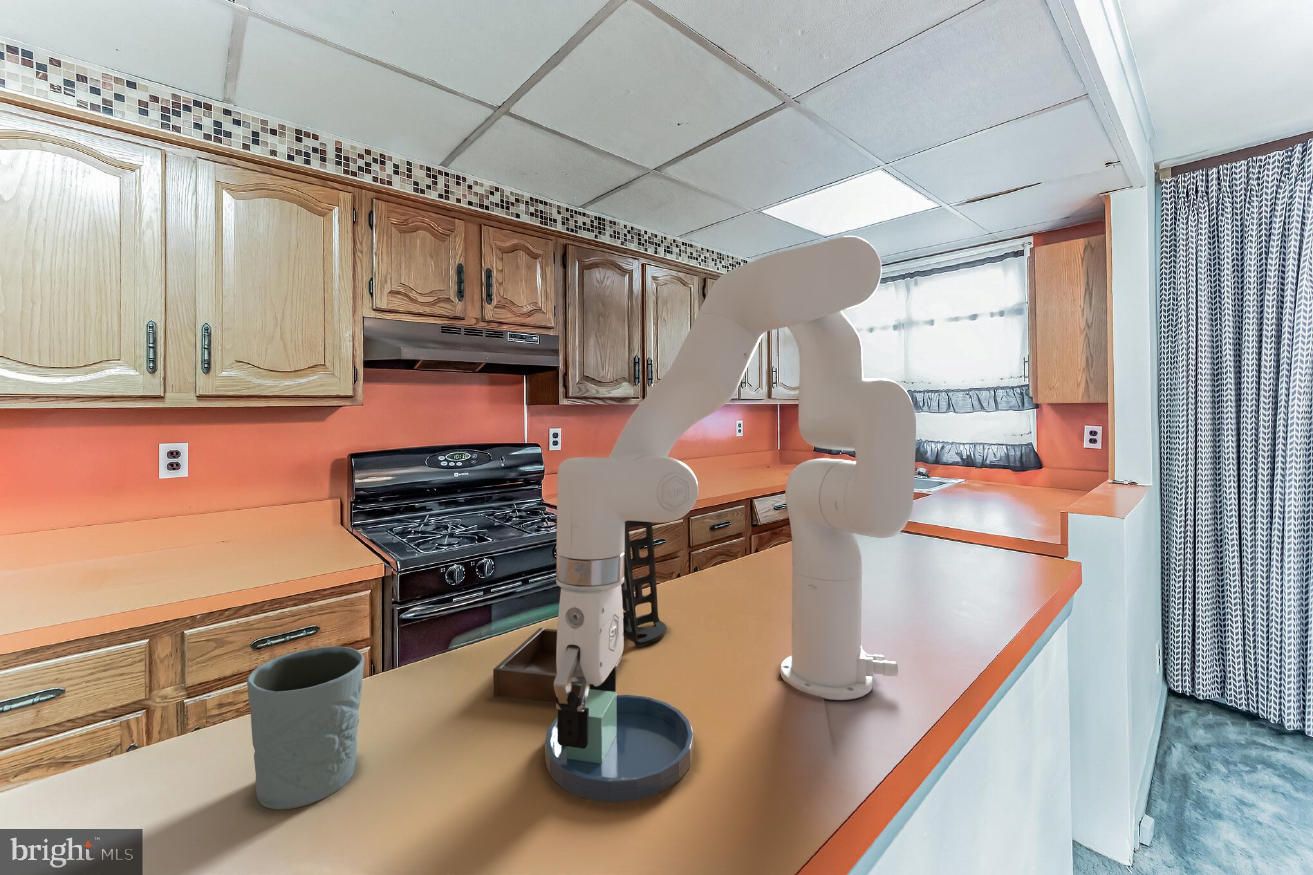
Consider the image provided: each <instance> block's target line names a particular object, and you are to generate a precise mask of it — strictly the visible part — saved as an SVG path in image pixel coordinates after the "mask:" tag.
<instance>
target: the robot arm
mask: <svg viewBox="0 0 1313 875" xmlns="http://www.w3.org/2000/svg"><path fill="white" fill-rule="evenodd" d="M882 270H883V269H882V261H881V258H880V255H879V254H878V251H877V250H876V248H875V247H874V246H873V245H872V244H871V243H870V242H869V241H868V240H866V239H864V238H861V237H859V236H855V235H844V236H840V237H836V238H832V239H828V240H824V241H820V242H816V243H812V244H809V245H804V246H800V247H794V248H792V249H787V250H782V251H777V252H773V253H771V254H767V255H765V256H761V257H759V258H757V259H754V260H752V261H750V262H747V263H745V264H742V265H740V266H738V267H735V268H732V269H731V270H728V271H727V272H725V273H723V274H722V275H721V276H720V277H718V278H717V279H716V280H715V282H714V283H713V284H712V286H711V287H710V289H709V290H708V293H707V294H706V296H705V299H704V300H703V303H702V305H701V307H700V309H699V310H698V313H697V315H696V317H695V319H694V320H693V323H692V325H691V327H690V329H689V331H688V333H687V335H686V337H685V339H684V341H683V343H682V345H681V346H680V348H679V351H678V353H677V355H676V357H675V359H674V361H673V363H672V364H671V366H670V368H669V369H668V370H667V372H666V373H665V374H664V375H663V376H662V377H661V378H660V379H659V380H658V382H657V383H656V384H655V385H654V387H652V389H651V391H650V392H649V393H648V394H647V395H646V396H645V397H644V399H643V400H642V401H641V402H640V404H638V406H637V407H636V408H635V410H634V411H633V412H632V413H631V416H630V417H629V418H628V420H627V421H626V423H625V425H624V427H623V428H622V430H621V431H620V434H619V435H618V437H617V440H616V442H615V444H614V446H613V448H612V450H611V452H610V453H609V456H608V457H604V456H603V457H602V456H580V457H579V456H578V457H571V458H567V459H566V458H565V459H564V460H562V461H561V463H560V464H559V466H558V468H557V475H556V476H557V477H556V558H555V560H556V563H555V564H556V565H555V566H556V567H555V584H556V585H557V586H558V587H559V588H560V594H559V595H560V596H559V605H558V615H557V616H558V617H557V629H556V630H557V648H556V666H557V675H556V678H555V680H554V690H555V700H556V704H555V709H556V711H557V717H558V729H557V742H558V744H559V745H562V746H569V747H575V748H582V749H585V748H586V747H587V745H588V735H589V708H585V706H586V701H587V696H588V692H589V689H592V690H601V691H610V692H616V693H617V667H616V666H615V665H616V663H617V662H618V660H619V659H620V657H621V655H622V656H623V651H624V649H625V648H624V647H625V642H624V641H625V640H624V639H625V638H624V637H625V636H624V635H625V634H624V633H623V618H624V615H623V612H624V610H623V604H622V589H621V585H622V584H623V583H624V551H625V521H644V522H652V523H659V524H662V523H663V524H664V523H670V522H675V521H677V520H680V519H682V518H684V517H685V516H686V515H687V514H689V513H690V511H692V509H693V508H694V507H695V505H696V503H697V499H698V497H699V483H698V479H697V477H696V475H695V473H694V472H693V470H692V469H691V468H690V467H689V466H688V465H687V464H686V463H684V462H682V461H681V460H679V459H677V458H674V457H671V456H669V454H670V452H671V451H672V449H673V448H674V446H675V445H676V443H677V442H678V441H679V439H680V438H681V437H682V436H683V435H684V434H685V433H686V432H687V431H688V430H689V429H691V427H693V426H694V425H696V424H697V423H698V422H700V421H702V420H704V419H706V418H707V417H708V416H710V415H712V414H714V413H716V412H717V411H718V410H720V409H721V408H722V407H724V406H725V405H727V404H728V403H729V402H730V401H731V400H732V399H733V398H734V397H735V395H736V393H737V391H738V388H739V387H740V384H741V382H742V380H743V378H744V375H745V373H746V371H747V369H748V366H749V364H750V362H751V360H752V358H753V357H754V353H755V352H756V349H757V347H758V346H759V343H760V341H761V339H762V337H763V336H764V335H765V333H766V332H770V331H775V330H779V329H784V328H787V329H788V330H789V331H790V333H791V335H792V337H793V338H794V341H795V343H796V345H797V349H798V354H799V381H798V384H799V385H798V420H797V421H798V429H799V433H800V436H801V437H802V439H803V441H804V442H806V443H807V444H808V445H809V446H812V447H814V448H820V449H827V450H835V451H849V452H854V456H855V461H854V460H853V461H852V460H850V459H849V460H847V459H838V458H837V459H835V458H815V459H808V460H806V461H803V462H801V463H799V464H797V466H796V467H794V468H793V469H792V470H791V472H790V474H789V476H788V477H787V480H786V484H785V491H784V492H785V493H784V494H785V503H786V509H787V514H788V519H789V525H790V526H789V527H790V532H791V556H792V557H791V558H792V559H791V560H792V562H791V563H792V564H791V655H789V656H788V657H786V658H784V659H783V660H782V661H781V663H780V675H781V678H782V680H783V681H784V682H786V683H787V684H788V685H790V686H791V687H793V688H794V689H796V690H799V691H801V692H803V693H806V694H809V695H813V696H817V697H822V698H823V699H824V700H833V701H848V700H855V699H858V698H862V697H864V696H865V695H867V694H869V693H870V692H871V691H872V689H873V687H874V686H873V685H874V684H873V683H874V680H873V678H874V675H881V676H885V677H896V678H897V677H898V676H899V666H898V662H897V661H893V660H891V661H890V660H885V656H884V655H883V654H868V653H867V652H866V651H864V649H863V646H862V612H863V611H862V609H863V608H862V606H863V604H862V603H863V602H862V599H863V596H862V595H863V558H862V553H861V548H860V545H859V542H858V539H857V537H856V535H860V536H865V537H869V538H870V537H871V538H876V539H887V538H892V537H895V535H898V534H900V533H901V532H902V530H904V529H905V527H906V526H907V524H908V522H909V520H910V518H911V514H912V511H913V506H914V496H915V476H916V473H915V472H916V447H917V446H916V444H917V417H916V411H915V406H914V403H913V402H912V401H913V400H912V399H911V396H910V395H909V393H908V391H907V390H906V389H905V388H904V387H903V386H902V385H901V384H899V383H898V382H896V381H894V380H891V379H888V378H880V377H878V378H876V377H875V378H864V370H863V369H864V366H863V365H864V364H863V363H864V362H863V346H862V341H861V337H860V335H859V333H858V331H857V329H856V328H855V326H854V325H853V324H852V322H851V321H850V319H849V318H848V317H847V316H846V314H844V312H843V311H846V310H849V309H851V308H855V307H858V306H861V305H862V304H864V303H866V302H867V301H868V300H869V299H871V297H873V295H874V294H875V293H876V291H877V289H878V287H879V285H880V282H881V279H882ZM621 658H622V657H621ZM575 672H576V673H583V674H584V676H585V678H584V677H576V676H574V673H575ZM571 685H579V686H581V690H580V694H579V697H578V696H577V695H576V693H575V692H572V691H571V689H572V686H571Z"/></svg>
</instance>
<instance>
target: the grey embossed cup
mask: <svg viewBox="0 0 1313 875" xmlns="http://www.w3.org/2000/svg"><path fill="white" fill-rule="evenodd" d="M364 666H365V656H364V655H363V653H362V652H361V651H359V650H358V649H355V648H352V647H349V646H348V647H346V646H339V645H338V646H337V645H334V646H333V645H332V646H319V647H314V648H313V647H312V648H308V649H302V650H297V651H294V652H290V653H287V654H284V655H281V656H278V657H275V658H272V659H271V660H269V661H267V662H265V663H262V664H261V665H259V666H258V667H256V668H255V669H254V670H253V671H252V672H251V673H249V676H248V677H247V680H246V684H247V698H248V706H249V710H250V723H251V724H250V727H251V740H252V746H253V750H254V753H253V762H254V773H255V792H256V798H257V800H258V801H259V803H260V804H261V805H262V806H263V807H265V808H266V809H267V808H268V809H271V810H279V811H280V810H281V811H282V810H292V809H297V808H301V807H305V806H308V805H311V804H315V803H316V802H319V801H321V800H324V799H325V798H327V797H329V796H331V795H332V794H334V793H336V792H337V791H339V790H340V789H341V788H343V787H344V786H345V785H346V784H347V783H348V782H349V781H350V780H351V778H352V777H353V775H354V774H355V769H356V765H357V754H358V738H357V735H358V726H359V722H360V716H359V710H360V706H361V699H362V691H363V690H362V689H363V681H364V680H363V678H364V668H365V667H364Z"/></svg>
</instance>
